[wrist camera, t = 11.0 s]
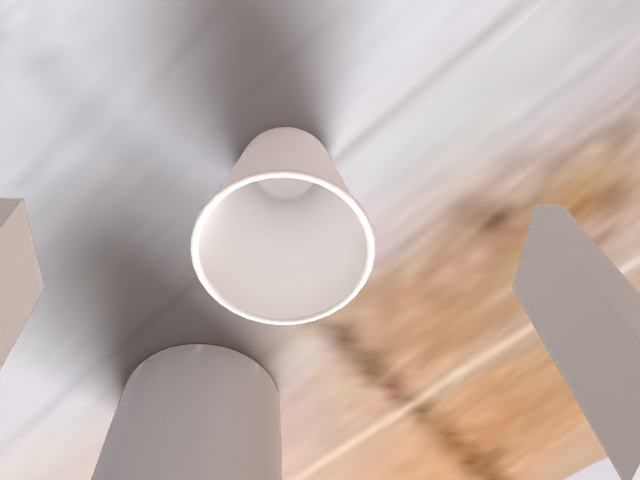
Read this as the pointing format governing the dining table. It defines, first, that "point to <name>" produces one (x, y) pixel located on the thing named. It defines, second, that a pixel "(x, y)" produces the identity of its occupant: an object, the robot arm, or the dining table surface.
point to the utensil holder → (195, 419)
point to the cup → (283, 233)
